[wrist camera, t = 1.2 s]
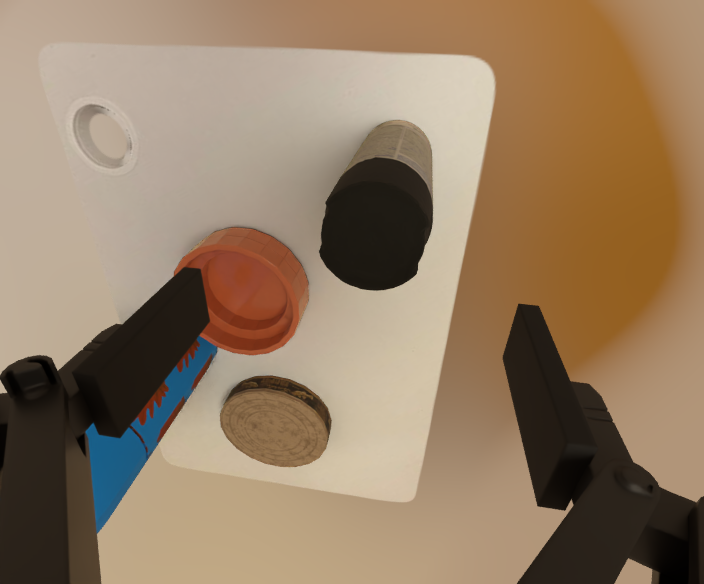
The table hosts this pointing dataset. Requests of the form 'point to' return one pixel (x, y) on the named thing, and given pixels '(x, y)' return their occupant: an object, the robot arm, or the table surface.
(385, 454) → the table surface
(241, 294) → the dish
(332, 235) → the spray can
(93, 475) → the thermos
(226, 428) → the brown round disc
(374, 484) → the table surface
